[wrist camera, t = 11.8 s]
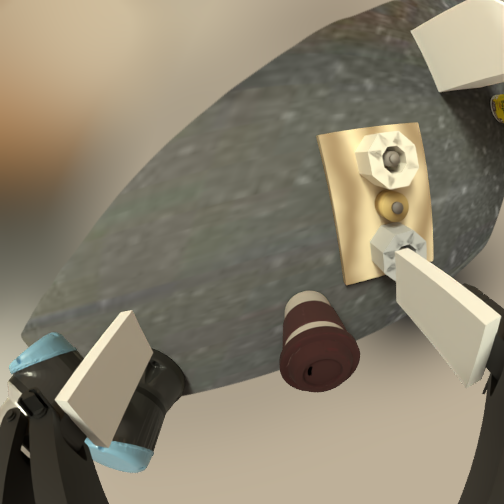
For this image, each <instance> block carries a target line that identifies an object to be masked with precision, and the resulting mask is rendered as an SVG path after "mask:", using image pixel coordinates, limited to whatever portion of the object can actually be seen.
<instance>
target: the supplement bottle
mask: <svg viewBox="0 0 504 504" xmlns="http://www.w3.org/2000/svg"><path fill="white" fill-rule="evenodd" d="M490 105H491V110H492V113H493V115H494V117H495V118H496V119H497V121H499V122H501V123H504V94H502V95H495V96H493V97H492V98H491V102H490Z"/></svg>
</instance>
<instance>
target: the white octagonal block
mask: <svg viewBox="0 0 504 504" xmlns="http://www.w3.org/2000/svg"><path fill="white" fill-rule="evenodd" d="M385 150H386V151H395V152H397V153H398V155H399V157H400V163H399V164H398V165H397V166H396V167H390V166H388V167H387V169H386V168H384V164H383V158H382V155H383V153H384V152H385ZM355 157H356V162H357V166H358V171H359V174H361V175H362V176H363V177H365V178H366V179H367V180H369V181H370V182H371V183H372V184H374V185H376V186H379V187H383V188H386V189H395V188H400V187H405V186H409V185H410V183H411V181H412V179H413V178H414V176H415V174H416V172H417V170H418V169H419V164H418V158H417V153H416V147H415V145H414V144H413V143H412V142H411V141H410V140H409V139H408V138H406V137H405V136H404V135H403V134H402V133H401V132H400V131H392V132H384V133H377V134H371V135H366V136H364V138H363V139H362V141H361V143H360V144H359V146H358V148H357V149H356V151H355Z"/></svg>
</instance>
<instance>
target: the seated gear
mask: <svg viewBox="0 0 504 504" xmlns="http://www.w3.org/2000/svg"><path fill="white" fill-rule="evenodd" d="M402 246H404V247H405V248H409V249H411V250H412V251H414V252H415V253H417V254H418V255H420V256H421V257H423V258H424V259H426V260H427V248H426V241H425V240H424V239H423V238H422V237H421V236H420V235H418V234H417V233H416V232H415V231H414V230H412V229H410V228H409V227H407V226H405V225H403V224H401V223H400V222H393V223H389V224H385V225H381V226H380V227H379V229H378V230H377V232H376V233H375V235H374V236H373V238H372V239H371V241H370V248H371V258H372V261H373V262H374V263H375V264H376V265H377V266H378V267H379V268H380V269H381V270H382V271H383V272H384V273H385V274H386V275H387V276H389V277H390V278H392V279H393V280H395V281H396V263H395V251H398V250H399V249H400V248H401V247H402Z"/></svg>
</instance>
